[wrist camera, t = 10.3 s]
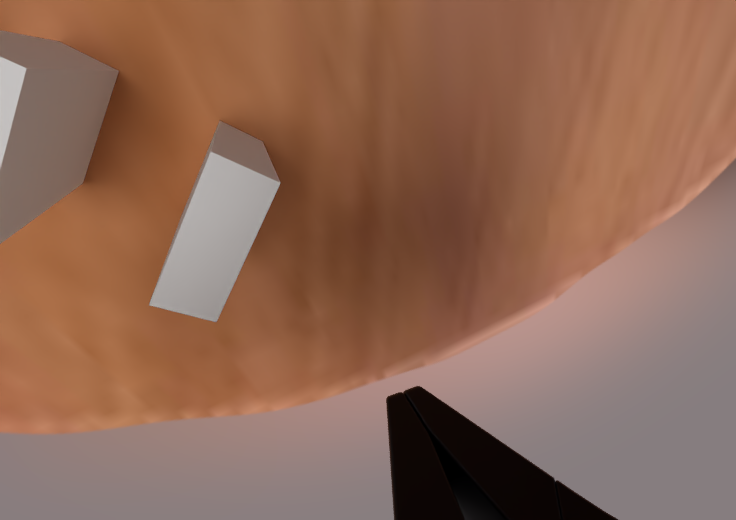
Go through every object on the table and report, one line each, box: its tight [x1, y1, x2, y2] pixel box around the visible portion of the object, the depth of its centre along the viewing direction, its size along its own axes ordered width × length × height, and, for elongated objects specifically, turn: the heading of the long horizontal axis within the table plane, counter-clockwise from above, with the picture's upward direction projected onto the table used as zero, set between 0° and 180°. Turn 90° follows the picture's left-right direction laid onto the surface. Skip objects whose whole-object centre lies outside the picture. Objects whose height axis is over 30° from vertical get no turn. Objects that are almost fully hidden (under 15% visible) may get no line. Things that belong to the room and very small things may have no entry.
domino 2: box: [149, 121, 280, 322], centre depth 15 cm, size 2×5×8 cm, turn 150°
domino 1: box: [0, 30, 119, 244], centre depth 12 cm, size 2×5×8 cm, turn 151°
